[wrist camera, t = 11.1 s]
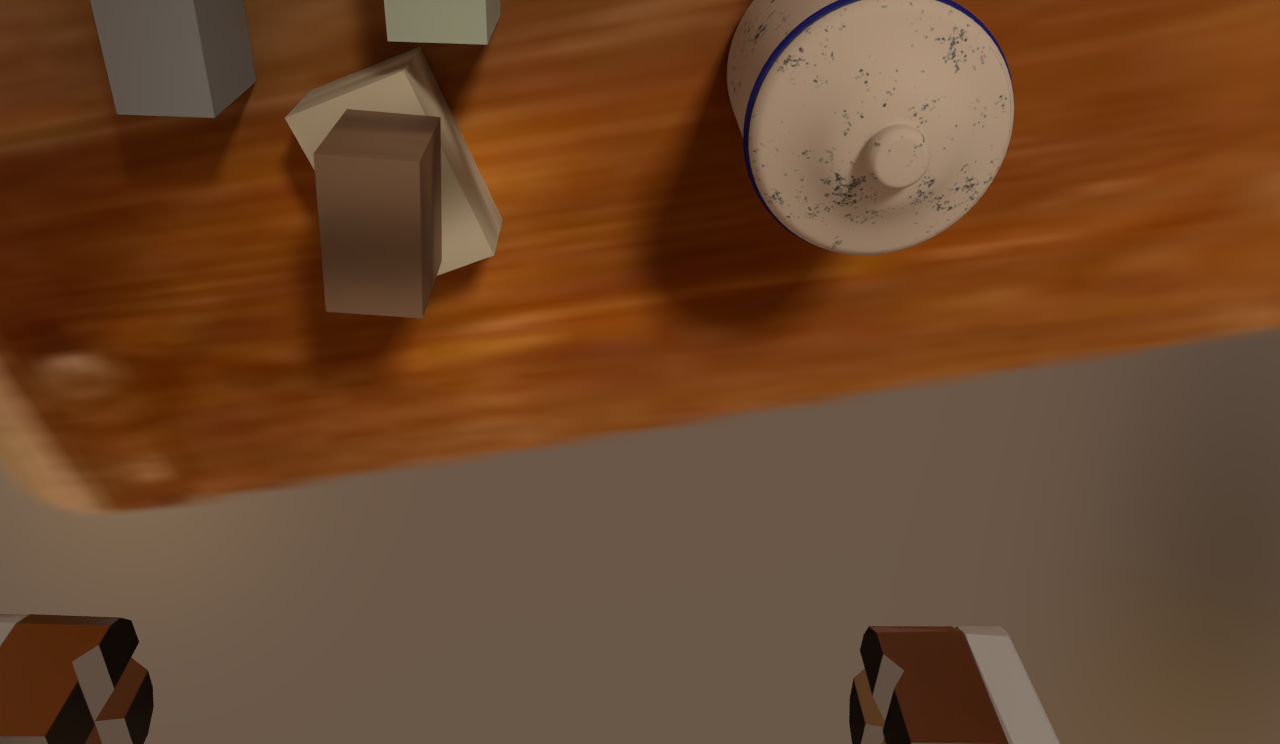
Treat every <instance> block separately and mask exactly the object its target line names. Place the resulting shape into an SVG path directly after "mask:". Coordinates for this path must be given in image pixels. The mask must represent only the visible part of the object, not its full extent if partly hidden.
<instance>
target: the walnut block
mask: <svg viewBox="0 0 1280 744" xmlns="http://www.w3.org/2000/svg"><path fill="white" fill-rule="evenodd" d="M313 155H314V168H315V181H316V193H317V206H318V219H319V231H320V244H321V257H322V269H323V282H324V295H325V307H326V312H336V313H351V314H365V315H379V316H394V317H408V318H422V319H423V316H424V313H425V310H426V307H427V304H428V301H429V298H430V295H431V292H432V289H433V286H434V283H435V280H436V277H437V274H438V271H439V268H440V265H441V262H442V216H441V117H435V116H423V115H411V114H400V113H388V112H376V111H364V110H353V109H346V111H345V112H344V113H343V115H342V116H341V117H340V119H339V120H338V121H337V123H336V124H335V125H334V127H333V128H332V129H331V131H330V132H329V133H328V135H327V136H326V137H325V139H324V140H323V141H322V143H321V144H320V145H319V147H318V148H317V149H316V151H315V152H314V153H313Z"/></svg>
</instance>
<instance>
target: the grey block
mask: <svg viewBox="0 0 1280 744" xmlns="http://www.w3.org/2000/svg"><path fill="white" fill-rule="evenodd" d="M90 2H91V6H92V11H93V15H94V19H95V23H96V28H97V32H98V36H99V40H100V45H101V49H102V53H103V57H104V61H105V66H106V70H107V74H108V78H109V83H110V87H111V91H112V95H113V100H114V104H115V108H116V112H117V115H145V116H174V117H203V118H215V117H216V116H218V115H219V114H220V113H221V112H222V111H223V110H224V109H225V108H227V107H228V106H229V105H230V104H231V103H232V102H233V101H235V100H236V99H237V98H238V97H239V96H240V95H241V94H242V93H244V92H245V91H246V90H247V89H248V88H249V87H250V86H252V85H253V84H254V83H255V82H256V77H255V70H254V64H253V58H252V51H251V45H250V39H249V33H248V26H247V20H246V14H245V7H244V1H243V0H90Z"/></svg>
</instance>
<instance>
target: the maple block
mask: <svg viewBox="0 0 1280 744" xmlns="http://www.w3.org/2000/svg"><path fill="white" fill-rule="evenodd" d="M346 109H353V110H364V111H376V112H388V113H400V114H411V115H423V116H435V117H441V216H442V262H441V265H440V268H439V271H438V274H437V276H438V275H440V274H443V273H446V272H449V271H452V270H454V269H457V268H460V267H463V266H466V265H468V264H471V263H474V262H477V261H480V260H482V259H485V258H488V257H491V256H494V254H495V250H496V245H497V241H498V237H499V232H500V228H501V224H502V218H501V216H500V214H499V211H498V209H497V207H496V205H495V203H494V201H493V199H492V197H491V195H490V193H489V190H488V188H487V186H486V184H485V182H484V180H483V178H482V176H481V174H480V172H479V169H478V167H477V165H476V163H475V161H474V159H473V157H472V155H471V153H470V151H469V148H468V146H467V144H466V142H465V140H464V138H463V136H462V134H461V132H460V130H459V127H458V125H457V123H456V121H455V119H454V117H453V115H452V113H451V111H450V109H449V106H448V104H447V102H446V100H445V98H444V96H443V94H442V92H441V90H440V88H439V85H438V83H437V81H436V79H435V77H434V75H433V73H432V71H431V69H430V66H429V64H428V62H427V60H426V58H425V56H424V54H423V52H422V50H421V48H420V47H417V48H415V49H412V50H410V51H407V52H405V53H402V54H400V55H397V56H395V57H392V58H390V59H387V60H385V61H382V62H380V63H377V64H375V65H372V66H370V67H367V68H365V69H362V70H360V71H357V72H355V73H352V74H350V75H347V76H345V77H342V78H340V79H337V80H335V81H332V82H330V83H327V84H325V85H322V86H320V87H317V88H315V89H312V90H310V91H309V92H308V93H307V94H306V95H305V96H304V98H303V99H302V100H301V101H300V102H299V103H298V104H297V105H296V106H295V107H294V108H293V110H292V111H291V112H290V113H289V114H288V115H287V116H286V117H285V119H286V121H287V123H288V125H289V127H290V128H291V130H292V132H293V134H294V135H295V137H296V139H297V141H298V142H299V144H300V146H301V148H302V149H303V151H304V153H305V155H306V156H307V158H308V160H309V162H310V163H311V165H312V167H313V169H314V170H315V168H314V155H313V153H314V152H315V151H316V149H317V148H318V147H319V145H320V144H321V143H322V141H323V140H324V139H325V137H326V136H327V135H328V133H329V132H330V131H331V129H332V128H333V127H334V125H335V124H336V123H337V121H338V120H339V119H340V117H341V116H342V115H343V113H344V112H345V111H346Z"/></svg>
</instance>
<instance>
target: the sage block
mask: <svg viewBox="0 0 1280 744" xmlns="http://www.w3.org/2000/svg"><path fill="white" fill-rule="evenodd" d="M384 8H385V18H386V29H387V40H388V41H394V42H424V43H454V44H483V45H487V44H488V42H489V40H490V37H491V35H492V33H493V31H494V29H495V26H496V24H497V22H498V20H499V18H500V15H501V12H500V0H384Z"/></svg>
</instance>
